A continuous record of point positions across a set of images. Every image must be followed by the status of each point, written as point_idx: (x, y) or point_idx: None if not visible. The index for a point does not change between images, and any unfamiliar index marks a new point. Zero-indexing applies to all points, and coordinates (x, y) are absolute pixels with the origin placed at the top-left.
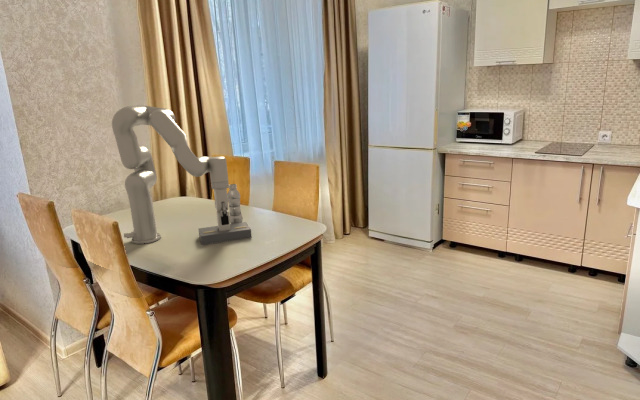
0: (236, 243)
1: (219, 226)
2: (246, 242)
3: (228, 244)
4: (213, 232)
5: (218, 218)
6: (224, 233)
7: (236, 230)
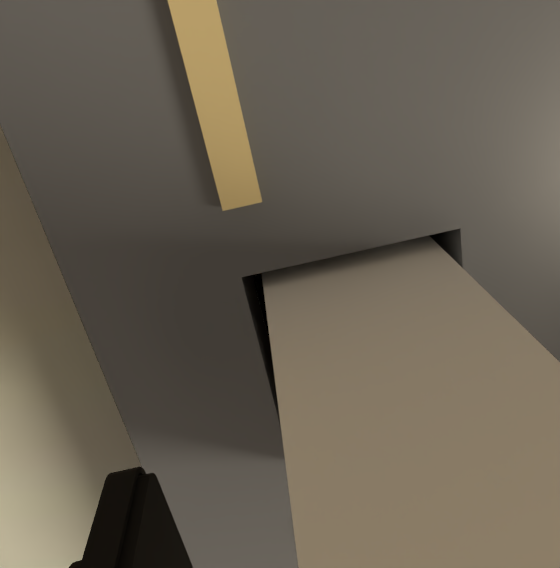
0: (42, 452)
1: (272, 346)
2: (69, 544)
3: (7, 365)
4: (181, 179)
5: (290, 501)
6: (114, 385)
7: (215, 545)
